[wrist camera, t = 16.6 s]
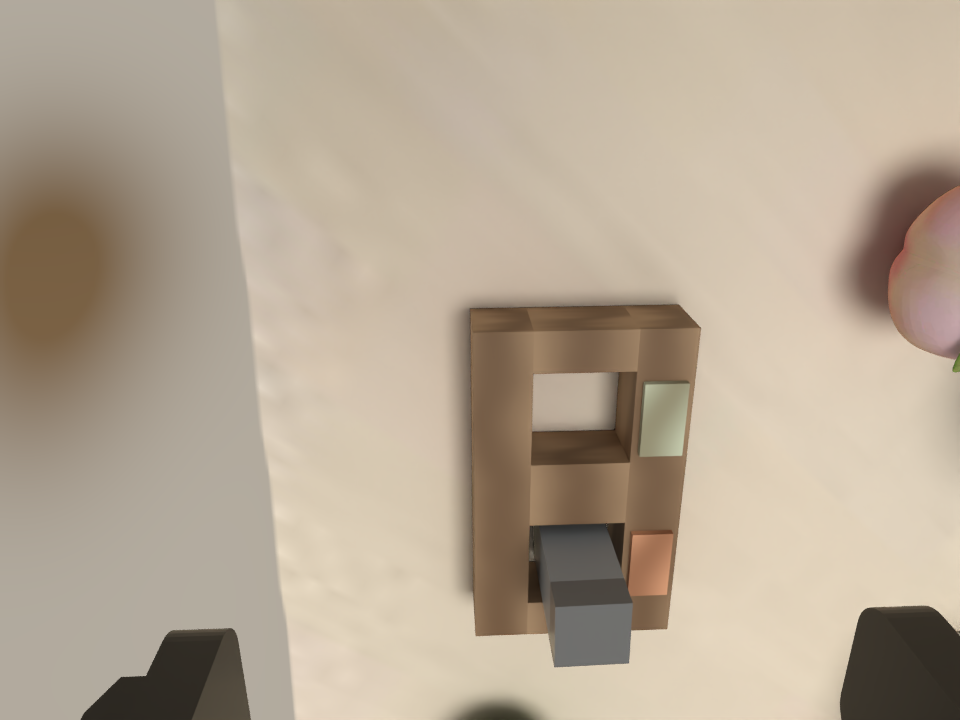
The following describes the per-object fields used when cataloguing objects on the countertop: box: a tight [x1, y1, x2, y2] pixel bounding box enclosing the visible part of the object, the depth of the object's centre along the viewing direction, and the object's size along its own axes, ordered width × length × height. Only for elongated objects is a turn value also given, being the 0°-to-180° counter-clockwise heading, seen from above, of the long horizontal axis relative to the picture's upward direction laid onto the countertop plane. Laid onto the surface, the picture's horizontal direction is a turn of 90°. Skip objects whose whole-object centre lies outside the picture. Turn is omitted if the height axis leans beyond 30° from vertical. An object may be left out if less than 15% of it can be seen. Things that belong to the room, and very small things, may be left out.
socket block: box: [470, 305, 701, 636], centre depth 45 cm, size 12×20×4 cm, turn 0°
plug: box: [534, 523, 633, 667], centre depth 44 cm, size 4×4×10 cm
